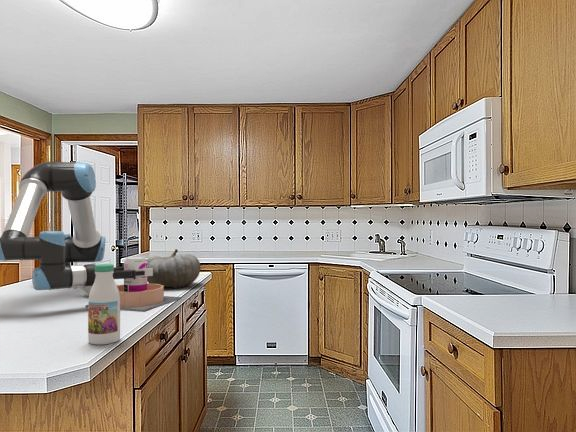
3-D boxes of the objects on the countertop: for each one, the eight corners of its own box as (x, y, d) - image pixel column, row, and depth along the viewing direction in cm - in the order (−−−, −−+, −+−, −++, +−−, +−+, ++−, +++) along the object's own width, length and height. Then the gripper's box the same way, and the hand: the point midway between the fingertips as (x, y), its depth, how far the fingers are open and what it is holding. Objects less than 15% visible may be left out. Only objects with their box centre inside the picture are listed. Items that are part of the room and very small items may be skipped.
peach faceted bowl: (128, 295, 183) (128, 281, 183) (181, 298, 176) (181, 284, 176) (85, 307, 160) (85, 291, 160) (144, 311, 153) (144, 295, 153)
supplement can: (151, 296, 170) (151, 257, 170) (137, 301, 163) (137, 259, 162) (133, 295, 173) (133, 256, 173) (118, 299, 165) (119, 258, 165)
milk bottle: (94, 337, 122) (94, 263, 121) (123, 336, 122) (123, 262, 122) (83, 345, 114) (83, 266, 114) (115, 345, 115) (115, 266, 114)
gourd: (195, 285, 191) (189, 244, 193) (137, 295, 191) (131, 254, 193) (207, 282, 216) (202, 246, 217) (156, 291, 216) (151, 255, 218)
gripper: (76, 282, 165) (137, 277, 179) (92, 290, 148) (158, 284, 162) (76, 262, 165) (137, 258, 179) (92, 267, 148) (158, 263, 162)
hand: (147, 270), depth 171 cm, fingers open, 9 cm apart
